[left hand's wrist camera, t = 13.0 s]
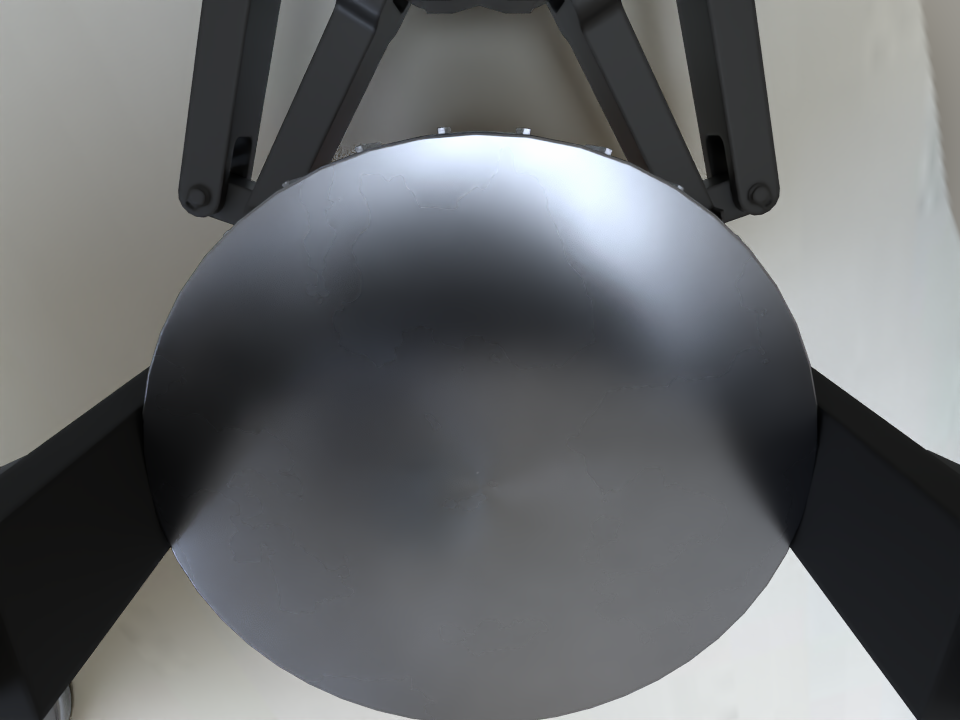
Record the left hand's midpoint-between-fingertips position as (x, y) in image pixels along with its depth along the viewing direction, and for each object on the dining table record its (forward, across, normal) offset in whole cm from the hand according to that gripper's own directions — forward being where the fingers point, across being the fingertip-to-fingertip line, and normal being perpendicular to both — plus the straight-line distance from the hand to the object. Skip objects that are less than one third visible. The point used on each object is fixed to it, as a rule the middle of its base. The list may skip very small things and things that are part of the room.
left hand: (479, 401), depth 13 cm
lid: (-3, 0, 0) cm, 3 cm away
